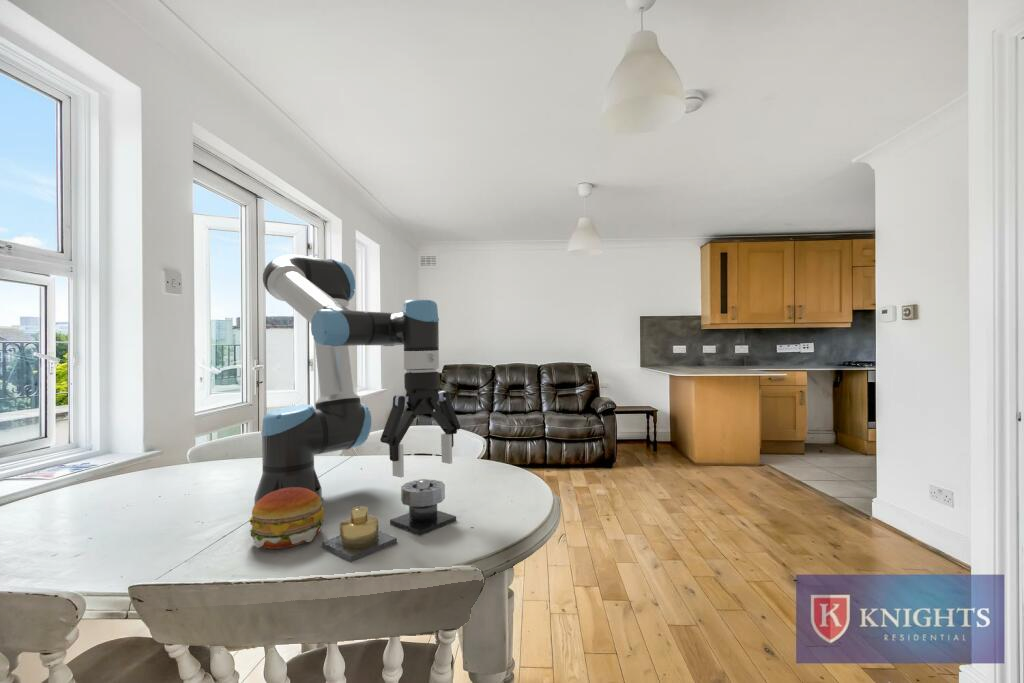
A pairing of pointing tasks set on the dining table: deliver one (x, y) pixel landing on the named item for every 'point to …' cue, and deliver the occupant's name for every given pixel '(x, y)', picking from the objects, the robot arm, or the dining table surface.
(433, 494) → the grey faceted ring
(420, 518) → the stand
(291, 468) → the robot arm
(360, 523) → the hub
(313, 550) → the dining table surface
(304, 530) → the burger
